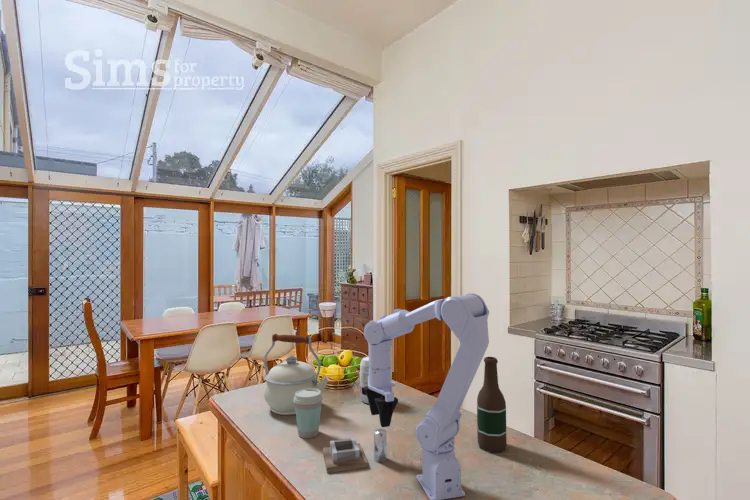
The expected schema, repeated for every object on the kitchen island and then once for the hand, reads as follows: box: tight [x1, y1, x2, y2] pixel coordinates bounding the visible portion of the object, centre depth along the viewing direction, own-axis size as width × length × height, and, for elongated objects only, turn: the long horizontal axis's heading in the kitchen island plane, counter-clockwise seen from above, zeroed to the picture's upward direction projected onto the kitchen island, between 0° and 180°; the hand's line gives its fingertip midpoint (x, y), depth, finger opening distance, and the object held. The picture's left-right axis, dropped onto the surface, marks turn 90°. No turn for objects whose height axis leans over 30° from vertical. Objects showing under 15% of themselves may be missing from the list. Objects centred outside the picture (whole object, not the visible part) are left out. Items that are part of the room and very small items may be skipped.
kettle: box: [262, 333, 330, 416], centre depth 133 cm, size 25×18×25 cm
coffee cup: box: [293, 388, 324, 439], centre depth 113 cm, size 8×8×12 cm
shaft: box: [373, 428, 388, 463], centre depth 98 cm, size 3×3×7 cm
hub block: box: [322, 437, 369, 474], centre depth 98 cm, size 10×10×4 cm
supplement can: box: [359, 355, 383, 405], centre depth 139 cm, size 8×8×15 cm
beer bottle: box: [476, 356, 507, 454], centre depth 105 cm, size 8×8×24 cm
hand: (380, 420), depth 99 cm, fingers open, 7 cm apart
